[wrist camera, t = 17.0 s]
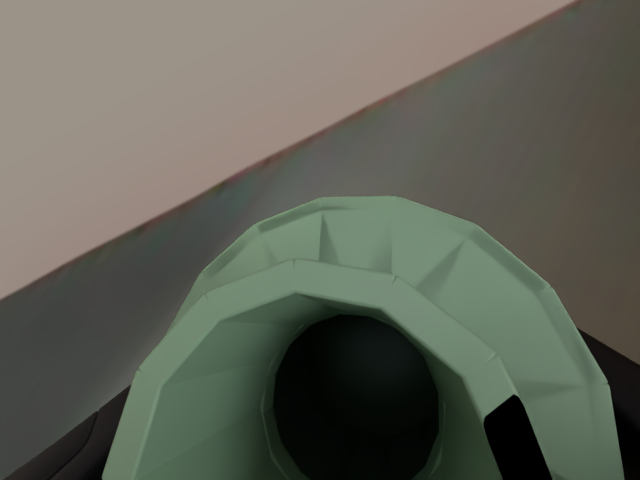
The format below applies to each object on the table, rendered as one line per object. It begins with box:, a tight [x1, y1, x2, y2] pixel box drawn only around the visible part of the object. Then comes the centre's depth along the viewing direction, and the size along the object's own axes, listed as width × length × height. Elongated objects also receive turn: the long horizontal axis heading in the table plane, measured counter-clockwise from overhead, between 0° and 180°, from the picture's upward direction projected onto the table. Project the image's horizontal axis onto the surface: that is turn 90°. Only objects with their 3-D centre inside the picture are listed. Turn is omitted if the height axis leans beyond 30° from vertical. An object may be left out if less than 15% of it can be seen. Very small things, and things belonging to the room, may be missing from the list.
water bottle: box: [102, 196, 625, 480], centre depth 8 cm, size 7×7×12 cm
